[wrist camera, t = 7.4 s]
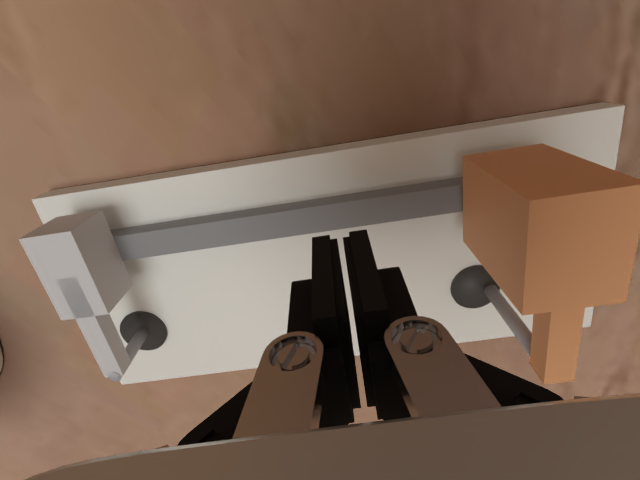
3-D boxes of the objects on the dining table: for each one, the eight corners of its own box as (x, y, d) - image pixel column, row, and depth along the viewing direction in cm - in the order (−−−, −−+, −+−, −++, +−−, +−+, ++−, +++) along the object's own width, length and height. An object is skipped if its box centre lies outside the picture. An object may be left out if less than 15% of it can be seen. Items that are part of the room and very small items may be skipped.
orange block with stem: (456, 151, 19) (529, 200, 12) (532, 139, 19) (649, 183, 12) (458, 299, 22) (516, 400, 16) (522, 291, 22) (609, 389, 16)
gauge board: (50, 190, 22) (-29, 228, 17) (602, 102, 20) (697, 115, 15) (132, 367, 27) (90, 436, 22) (575, 311, 25) (637, 372, 20)
